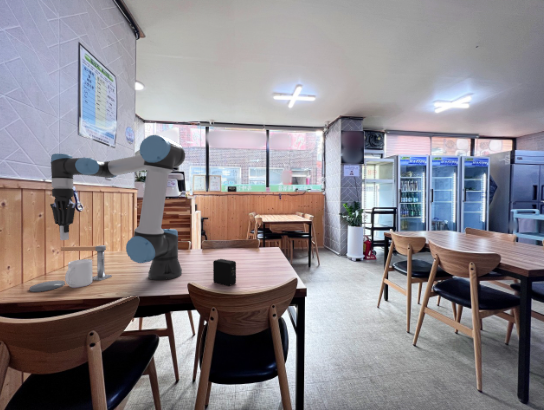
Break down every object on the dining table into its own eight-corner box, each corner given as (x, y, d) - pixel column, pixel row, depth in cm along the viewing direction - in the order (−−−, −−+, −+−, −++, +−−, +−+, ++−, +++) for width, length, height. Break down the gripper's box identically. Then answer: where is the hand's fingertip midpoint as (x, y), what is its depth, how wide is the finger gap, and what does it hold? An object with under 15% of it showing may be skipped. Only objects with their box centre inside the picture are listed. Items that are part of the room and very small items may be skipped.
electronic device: (229, 286, 104) (229, 263, 104) (213, 282, 109) (213, 260, 109) (236, 283, 108) (236, 261, 107) (219, 279, 113) (219, 258, 113)
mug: (76, 291, 98) (75, 266, 98) (55, 291, 98) (55, 266, 98) (97, 281, 110) (96, 259, 110) (78, 281, 110) (78, 259, 110)
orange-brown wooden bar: (102, 251, 113) (102, 246, 113) (59, 251, 112) (59, 247, 112) (107, 249, 117) (107, 245, 117) (66, 249, 116) (66, 245, 116)
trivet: (71, 283, 107) (71, 281, 107) (42, 293, 96) (42, 290, 96) (52, 281, 110) (52, 279, 110) (22, 290, 99) (22, 288, 99)
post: (111, 276, 117) (111, 250, 117) (100, 280, 111) (99, 252, 111) (101, 275, 119) (101, 249, 118) (89, 279, 113) (89, 251, 113)
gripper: (82, 188, 113) (83, 238, 113) (61, 189, 116) (62, 238, 116) (65, 187, 105) (66, 241, 106) (42, 188, 108) (44, 240, 109)
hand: (64, 239), depth 111 cm, fingers closed
